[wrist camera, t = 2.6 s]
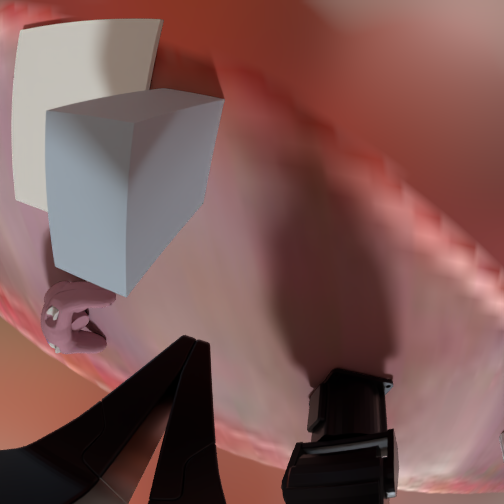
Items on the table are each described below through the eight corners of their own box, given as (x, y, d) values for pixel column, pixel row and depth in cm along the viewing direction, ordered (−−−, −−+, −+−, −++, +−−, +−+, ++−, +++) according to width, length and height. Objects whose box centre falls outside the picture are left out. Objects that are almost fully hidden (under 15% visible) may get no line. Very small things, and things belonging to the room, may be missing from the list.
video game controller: (97, 260, 27) (32, 281, 22) (121, 295, 26) (53, 322, 20) (89, 320, 33) (39, 341, 27) (109, 350, 31) (58, 375, 26)
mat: (164, 20, 14) (160, 19, 14) (134, 238, 23) (131, 241, 23) (24, 30, 15) (20, 30, 15) (19, 197, 24) (15, 199, 23)
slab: (224, 99, 17) (134, 123, 8) (203, 203, 20) (126, 297, 12) (160, 87, 17) (41, 110, 8) (146, 187, 21) (51, 264, 12)
